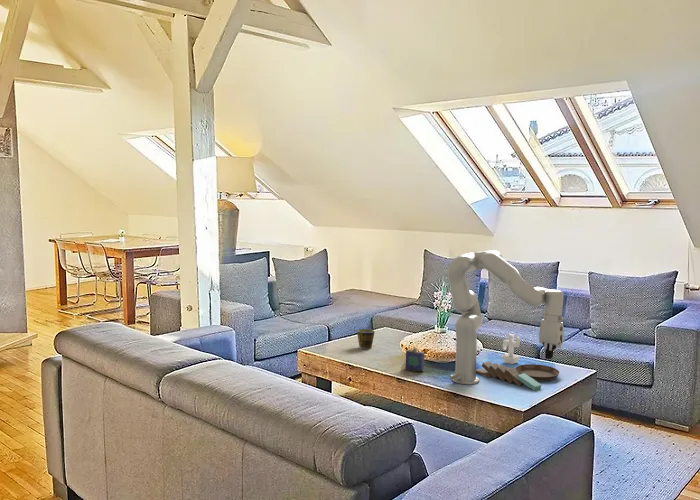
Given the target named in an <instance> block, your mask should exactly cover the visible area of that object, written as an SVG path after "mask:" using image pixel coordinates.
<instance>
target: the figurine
mask: <svg viewBox="0 0 700 500" xmlns="http://www.w3.org/2000/svg"><path fill="white" fill-rule="evenodd" d="M520 341H521V337H520V336H516V338H515V334H511V333H510V334H508V338H507V339H503V341H502V350H504V351H505V350H506V349H507V350H508V351H507V353H505V354H502V355H500V356H501V359H502V360H503V362H504V363H506V364H511V365H513V364H516V363H517V362H518V361H519V359H520V358H521V355H518V354H514V351H515V349H514V348H519V347H520V344H521V343H520ZM507 347H508V348H507Z"/></svg>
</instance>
